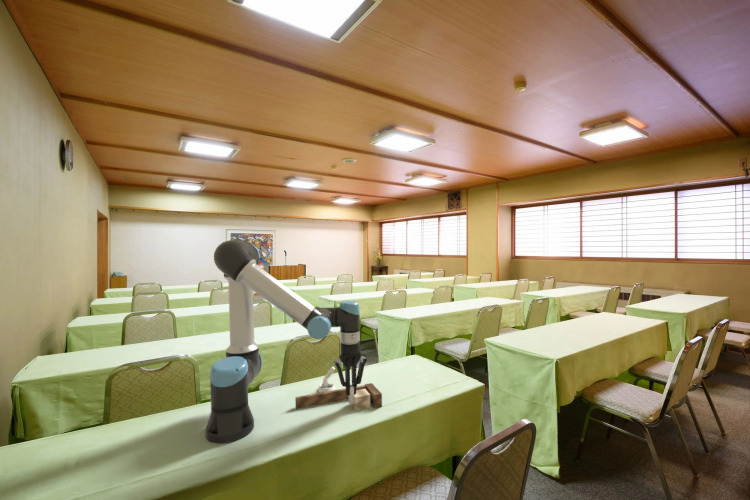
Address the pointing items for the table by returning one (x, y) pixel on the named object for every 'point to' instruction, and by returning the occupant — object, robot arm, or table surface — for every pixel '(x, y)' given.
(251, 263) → the robot arm
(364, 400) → the beige wooden block
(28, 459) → the table surface
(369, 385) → the guide rail
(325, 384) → the hook
